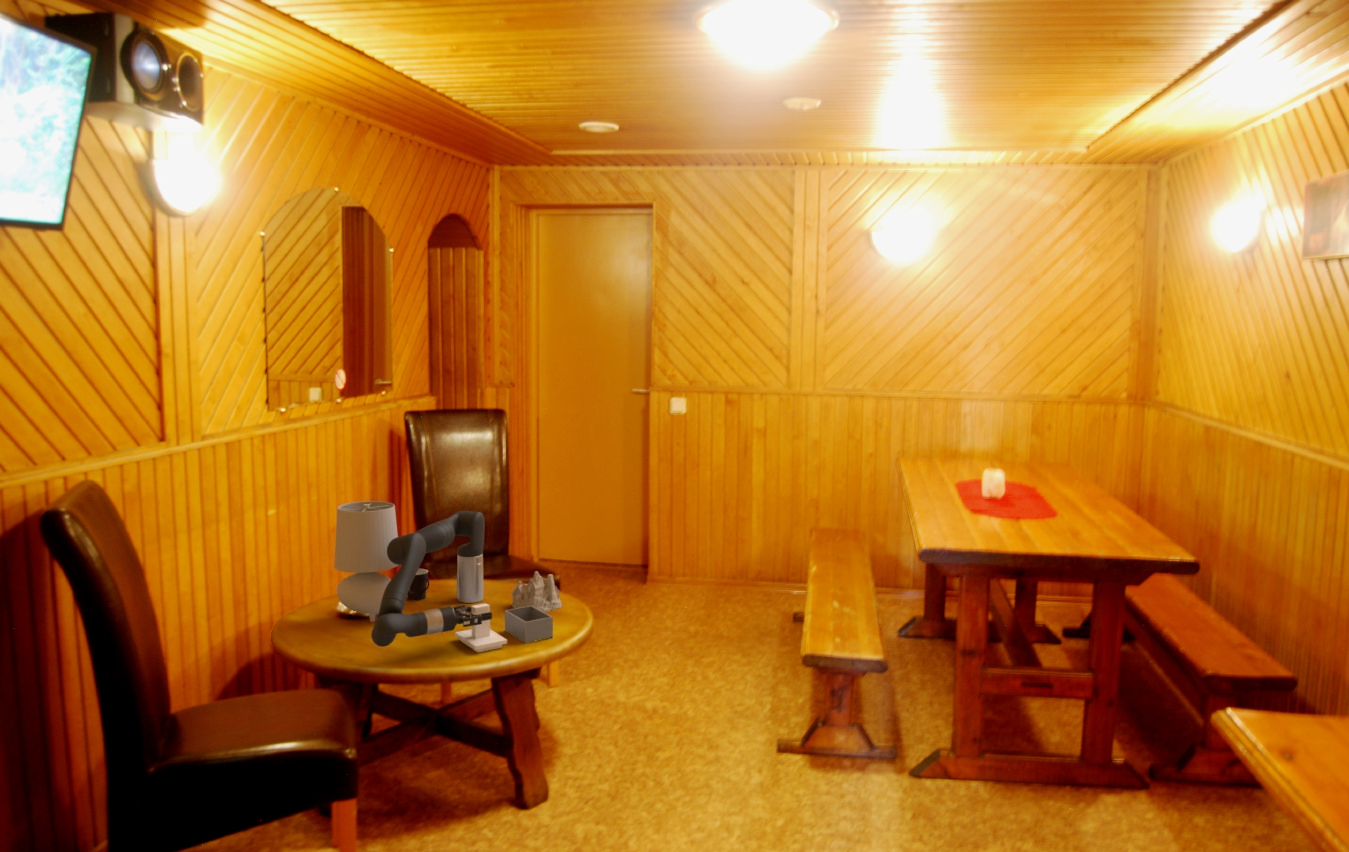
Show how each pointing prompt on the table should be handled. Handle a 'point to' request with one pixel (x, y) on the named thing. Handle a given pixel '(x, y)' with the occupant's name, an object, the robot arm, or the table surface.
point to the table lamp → (364, 553)
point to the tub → (528, 624)
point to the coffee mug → (419, 585)
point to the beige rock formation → (537, 594)
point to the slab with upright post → (481, 633)
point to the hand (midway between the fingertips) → (486, 611)
